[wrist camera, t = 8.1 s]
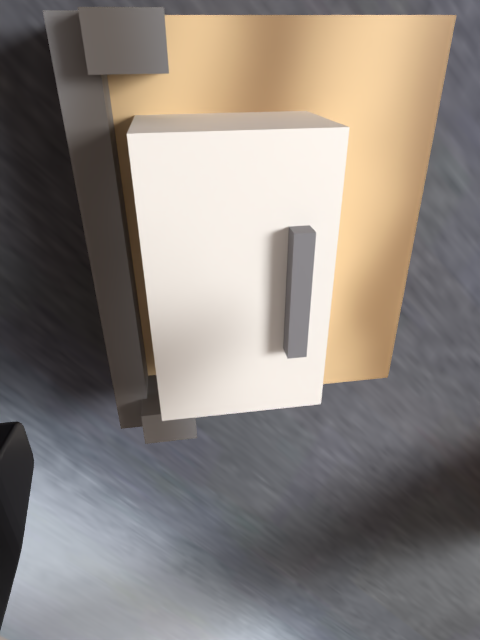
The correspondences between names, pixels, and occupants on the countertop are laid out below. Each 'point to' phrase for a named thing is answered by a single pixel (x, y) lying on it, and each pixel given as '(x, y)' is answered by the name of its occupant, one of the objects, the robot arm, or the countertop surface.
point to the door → (238, 254)
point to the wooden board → (251, 96)
